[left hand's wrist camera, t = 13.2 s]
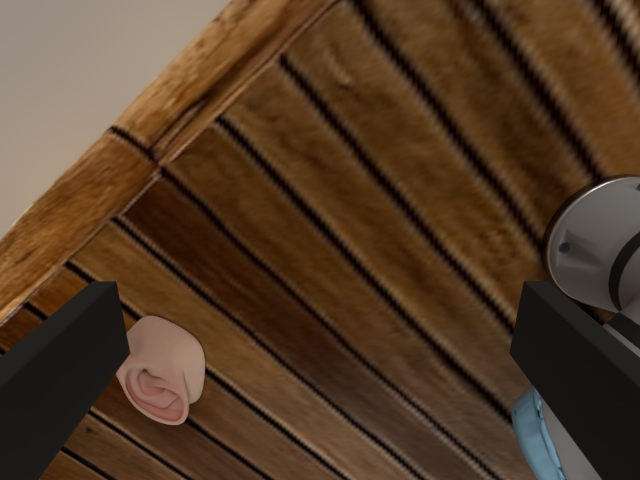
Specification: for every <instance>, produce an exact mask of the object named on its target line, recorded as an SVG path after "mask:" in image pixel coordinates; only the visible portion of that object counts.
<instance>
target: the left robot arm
mask: <svg viewBox="0 0 640 480" xmlns="http://www.w3.org/2000/svg"><path fill="white" fill-rule="evenodd" d="M542 256H543V263H544V267H545V270H546V272H547V274H548V276H549V277H550V279H551V280H552V281H553V283H554V284H555V285H556V286H557V287H559V288H560V289H561V290H562V291H564V292H565V293H566V294H567V295H569V296H570V297H572V298H574V299H576V300H578V301H580V302H583V303H585V304H588V305H592V306H595V307H598V308H602V309H605V310H609V311H612V312H615V313H618V314H616V315H615V316H614V317H613V318H612V319H611V320H609V321H608V322H607V323H605V324H604V325H603V326H601V325H600V324H599V323H597V322H596V321H595V320H594V319H593V318H591V317H590V316H589V315H588V314H586V313H585V312H584V311H583V310H582V309H580V308H579V307H578V306H577V305H576V304H574V303H573V302H572V301H571V300H569V299H568V298H567V297H566V296H565V295H563V294H562V293H561V292H560V291H559V290H557V289H556V288H555V287H554V286H552V285H551V284H550V283H549V282H524V284H523V289H522V294H521V299H520V304H519V309H518V314H517V319H516V323H515V328H514V333H513V338H512V343H511V348H510V355H511V356H512V357H513V359H514V360H515V361H516V363H517V364H518V366H519V367H520V368H521V370H522V371H523V372H524V374H525V375H526V377H527V378H528V379H529V381H530V382H531V383H532V386H531V387H530V388H529V389H528V390H527V391H526V392H525V393H524V394H523V395H522V396H521V397H520V398H519V399H518V400H517V401H516V402H515V404H514V406H513V410H512V421H513V429H514V433H515V436H516V439H517V441H518V444H519V446H520V448H521V451H522V453H523V455H524V457H525V459H526V461H527V463H528V464H529V466H530V468H531V470H532V471H533V473H534V475H535V476H536V478H537V480H640V176H639V175H616V176H611V177H607V178H604V179H601V180H598V181H596V182H593V183H591V184H589V185H587V186H585V187H584V188H582V189H581V190H579V191H578V192H576V193H575V194H574V195H572V196H571V197H570V198H569V199H568V200H567V201H566V202H565V203H564V204H563V205H562V206H561V207H560V209H559V210H558V211H557V212H556V214H555V215H554V217H553V218H552V220H551V222H550V224H549V226H548V228H547V231H546V233H545V237H544V241H543V248H542ZM129 355H130V348H129V343H128V338H127V333H126V328H125V323H124V319H123V314H122V309H121V304H120V299H119V294H118V289H117V284H116V282H91V283H90V284H89V285H88V286H86V287H85V288H84V289H83V290H81V291H80V292H79V293H78V294H77V295H75V296H74V297H73V298H72V299H71V300H69V301H68V302H67V303H66V304H64V305H63V306H62V307H61V308H60V309H58V310H57V311H56V312H55V313H54V314H52V315H51V316H50V317H49V318H47V319H46V320H45V321H44V322H43V323H41V324H40V325H39V326H38V327H37V328H35V329H34V330H33V331H32V332H30V333H29V334H28V335H27V336H26V337H24V338H23V339H22V340H21V341H20V342H18V343H17V344H16V345H15V346H13V347H12V348H11V349H10V350H9V351H7V352H6V353H5V354H4V355H3V356H1V357H0V480H38V479H39V478H40V476H41V475H42V474H43V472H44V471H45V470H46V468H47V467H48V465H49V464H50V463H51V461H52V460H53V459H54V457H55V456H56V454H57V453H58V452H59V450H60V449H61V448H62V446H63V445H64V444H65V442H66V441H67V439H68V438H69V437H70V435H71V434H72V433H73V431H74V430H75V429H76V427H77V426H78V424H79V423H80V422H81V420H82V419H83V418H84V416H85V415H86V413H87V412H88V411H89V409H90V408H91V407H92V405H93V404H94V403H95V401H96V400H97V398H98V397H99V396H100V394H101V393H102V392H103V390H104V389H105V387H106V386H107V385H108V383H109V382H110V381H111V379H112V378H113V377H114V375H115V374H116V372H117V371H118V370H119V368H120V367H121V366H122V364H123V363H124V361H125V360H126V359H127V357H128V356H129Z"/></svg>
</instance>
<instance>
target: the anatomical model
mask: <svg viewBox="0 0 640 480" xmlns="http://www.w3.org/2000/svg"><path fill="white" fill-rule="evenodd" d="M127 338H128V343H129V348H130V355H129V356H128V357H127V359H126V360H125V361H124V363H123V364H122V366H121V367H120V368H119V370H118V371H117V372H116V376H117V378H118V380H119V382H120V384H121V386H122V388H123V390H124V392H125V394H126V396H127V397H128V399H129V400H130V402H131V403H132V404H133V405H134V406H135V407H136V408H137V409H138V410H139V411H141V412H142V413H143V414H145V415H146V416H148V417H149V418H151V419H153V420H155V421H158V422H161V423H164V424H169V425H179V424H181V423H183V422H184V421H185V419H186V418H187V415H188V411H189V404H191V403H194V402H196V401H197V400H198V399H199V397H200V396H201V393H202V390H203V384H204V376H205V359H204V352H203V349H202V347H201V345H200V343H199V342H198V341H197V339H196V338H195V337H193V336H192V335H191V334H190V333H189V332H187V331H186V330H184V329H183V328H181V327H179V326H177V325H176V324H174V323H172V322H169V321H167V320H165V319H162V318H160V317H157V316H145V317H143V318H141V319H140V320H139V321H138V322H136V323H135V325H134V326H133V327H132V328H131V329H130V330H129V331H128V332H127Z"/></svg>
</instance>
